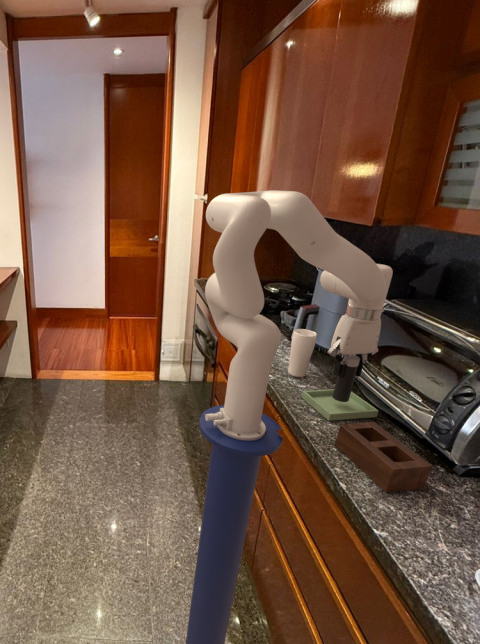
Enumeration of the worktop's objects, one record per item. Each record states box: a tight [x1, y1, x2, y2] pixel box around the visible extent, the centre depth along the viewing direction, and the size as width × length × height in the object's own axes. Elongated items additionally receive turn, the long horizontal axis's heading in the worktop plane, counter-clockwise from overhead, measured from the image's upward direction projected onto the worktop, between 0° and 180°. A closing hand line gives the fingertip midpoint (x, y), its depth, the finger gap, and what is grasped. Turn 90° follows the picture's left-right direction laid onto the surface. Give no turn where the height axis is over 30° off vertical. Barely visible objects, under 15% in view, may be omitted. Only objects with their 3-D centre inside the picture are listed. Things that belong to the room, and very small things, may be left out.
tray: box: [301, 388, 379, 422], centre depth 110 cm, size 14×12×2 cm
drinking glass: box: [287, 328, 318, 378], centre depth 126 cm, size 7×7×15 cm
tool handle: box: [332, 354, 360, 402], centre depth 107 cm, size 4×4×13 cm
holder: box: [334, 421, 433, 493], centre depth 87 cm, size 9×16×6 cm, turn 7°
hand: (346, 374), depth 107 cm, fingers closed on tool handle, 4 cm apart
